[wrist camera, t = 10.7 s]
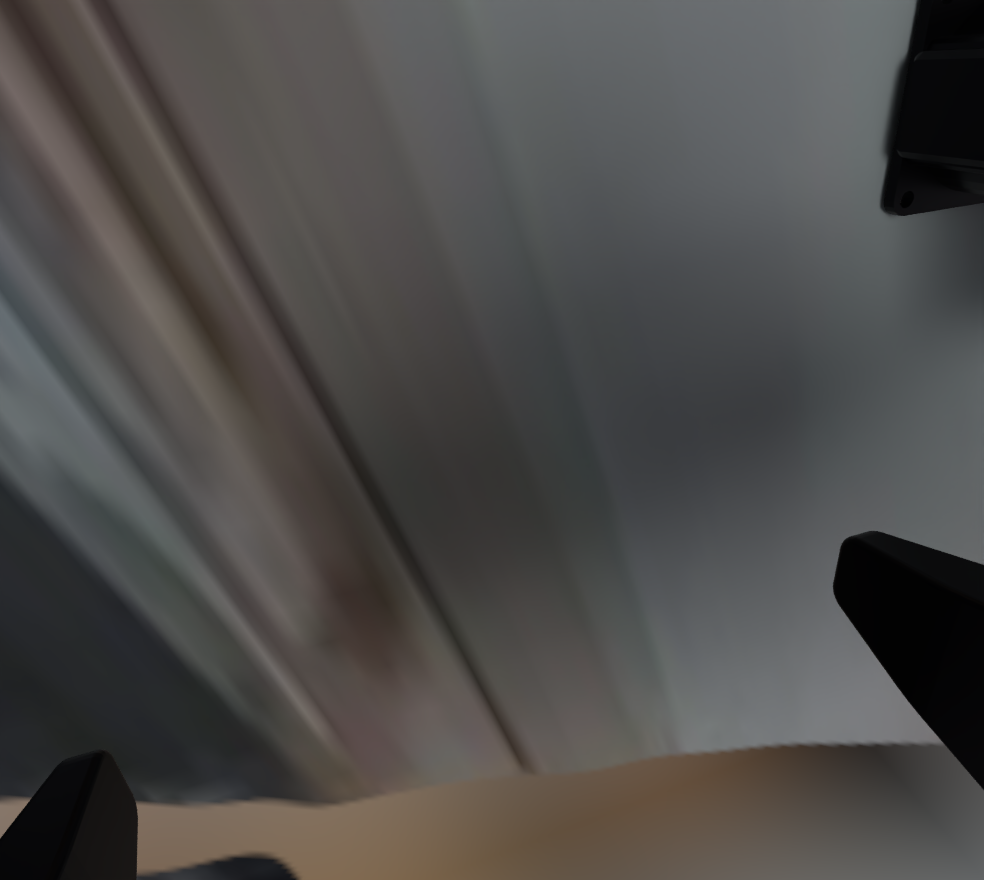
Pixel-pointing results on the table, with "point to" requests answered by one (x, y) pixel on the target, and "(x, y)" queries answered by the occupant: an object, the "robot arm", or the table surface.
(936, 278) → the table surface
